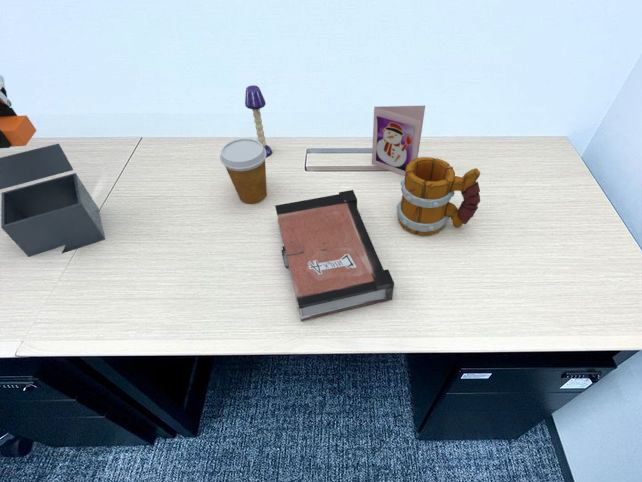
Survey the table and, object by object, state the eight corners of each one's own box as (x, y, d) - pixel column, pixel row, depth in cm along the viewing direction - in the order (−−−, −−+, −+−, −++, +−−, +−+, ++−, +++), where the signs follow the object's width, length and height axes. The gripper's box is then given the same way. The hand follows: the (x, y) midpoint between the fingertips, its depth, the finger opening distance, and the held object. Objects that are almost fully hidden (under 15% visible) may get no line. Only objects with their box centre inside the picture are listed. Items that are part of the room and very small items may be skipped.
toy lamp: (254, 148, 103) (241, 84, 91) (272, 145, 104) (261, 82, 91) (256, 158, 100) (242, 94, 88) (274, 156, 101) (263, 91, 88)
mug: (402, 198, 91) (409, 139, 79) (474, 215, 87) (493, 156, 76) (388, 229, 84) (394, 170, 73) (466, 248, 81) (485, 190, 69)
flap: (-20, 162, 73) (-19, 162, 73) (-2, 189, 76) (-1, 189, 76) (58, 143, 77) (58, 143, 77) (73, 170, 80) (73, 169, 80)
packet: (-18, 148, 69) (-30, 132, 67) (-4, 132, 72) (-16, 117, 70) (25, 145, 70) (14, 130, 67) (36, 130, 73) (26, 115, 70)
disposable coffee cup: (266, 178, 95) (257, 132, 86) (279, 201, 90) (271, 156, 81) (227, 188, 93) (213, 143, 83) (237, 213, 87) (224, 168, 78)
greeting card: (369, 165, 99) (372, 108, 87) (384, 151, 103) (388, 94, 91) (411, 180, 95) (419, 123, 84) (424, 165, 99) (433, 108, 88)
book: (274, 222, 85) (271, 204, 82) (352, 207, 89) (352, 189, 85) (297, 322, 69) (294, 305, 65) (392, 299, 72) (394, 283, 69)
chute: (33, 262, 78) (1, 227, 70) (31, 228, 84) (1, 192, 76) (105, 239, 82) (81, 203, 74) (98, 208, 88) (75, 172, 81)
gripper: (-70, 5, 62) (7, 115, 76) (-145, 49, 51) (-38, 168, 65) (-19, 3, 62) (49, 112, 76) (-82, 47, 52) (11, 165, 65)
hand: (8, 137), depth 70 cm, fingers closed on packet, 5 cm apart
